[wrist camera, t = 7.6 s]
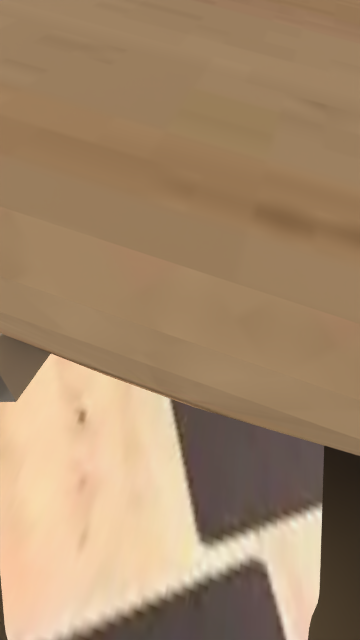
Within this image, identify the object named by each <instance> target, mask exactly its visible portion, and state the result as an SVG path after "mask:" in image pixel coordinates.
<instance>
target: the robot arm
mask: <svg viewBox="0 0 360 640" xmlns="http://www.w3.org/2000/svg"><path fill="white" fill-rule="evenodd" d="M50 354H51V353H49V352H47V351H44V350H41V349H39V348H36V347H34V346H31V345H29V344H26V343H24V342H21V341H19V340H16V339H14V338H11V337H9V336H6V335H4V334H1V333H0V402H16V401H17V400H18V398H19V397H20V396H21V394H22V393H23V391H24V390H25V389H26V387H27V386H28V384H29V383H30V382H31V380H32V379H33V377H34V376H35V375H36V373H37V372H38V370H39V369H40V368H41V366H42V365H43V363H44V362H45V361H46V359H47V358H48V356H49V355H50ZM0 640H7V636H6V632H5V625H4V614H3V602H2V590H1V578H0ZM308 640H360V456H359V455H355V454H352V453H348V452H345V451H342V450H338V449H335V448H331V447H328V446H325V445H324V474H323V505H322V536H321V568H320V592H319V599H318V604H317V606H316V608H315V611H314V613H313V615H312V619H311V623H310V627H309V636H308Z"/></svg>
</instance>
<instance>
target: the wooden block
mask: <svg viewBox="0 0 360 640" xmlns="http://www.w3.org/2000/svg"><path fill="white" fill-rule="evenodd" d="M0 333H1V334H4V335H6V336H9V337H11V338H14V339H16V340H19V341H21V342H24V343H26V344H29V345H31V346H34V347H36V348H39V349H41V350H44V351H47V352H49V353H52V354H54V355H57V356H59V357H62V358H64V359H67V360H69V361H72V362H74V363H77V364H79V365H82V366H84V367H87V368H89V369H92V370H94V371H97V372H99V373H102V374H104V375H107V376H110V377H113V378H115V379H118V380H121V381H124V382H126V383H129V384H132V385H135V386H137V387H140V388H143V389H146V390H149V391H151V392H154V393H157V394H160V395H162V396H165V397H168V398H171V399H173V400H176V401H179V402H182V403H184V404H187V405H190V406H193V407H196V408H199V409H203V410H206V411H209V412H213V413H216V414H220V415H223V416H226V417H230V418H233V419H237V420H240V421H243V422H247V423H250V424H253V425H257V426H260V427H264V428H267V429H270V430H274V431H277V432H281V433H284V434H287V435H291V436H294V437H298V438H301V439H304V440H308V441H311V442H314V443H318V444H321V445H325V446H328V447H331V448H335V449H338V450H342V451H345V452H348V453H352V454H355V455H359V456H360V0H0Z"/></svg>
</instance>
